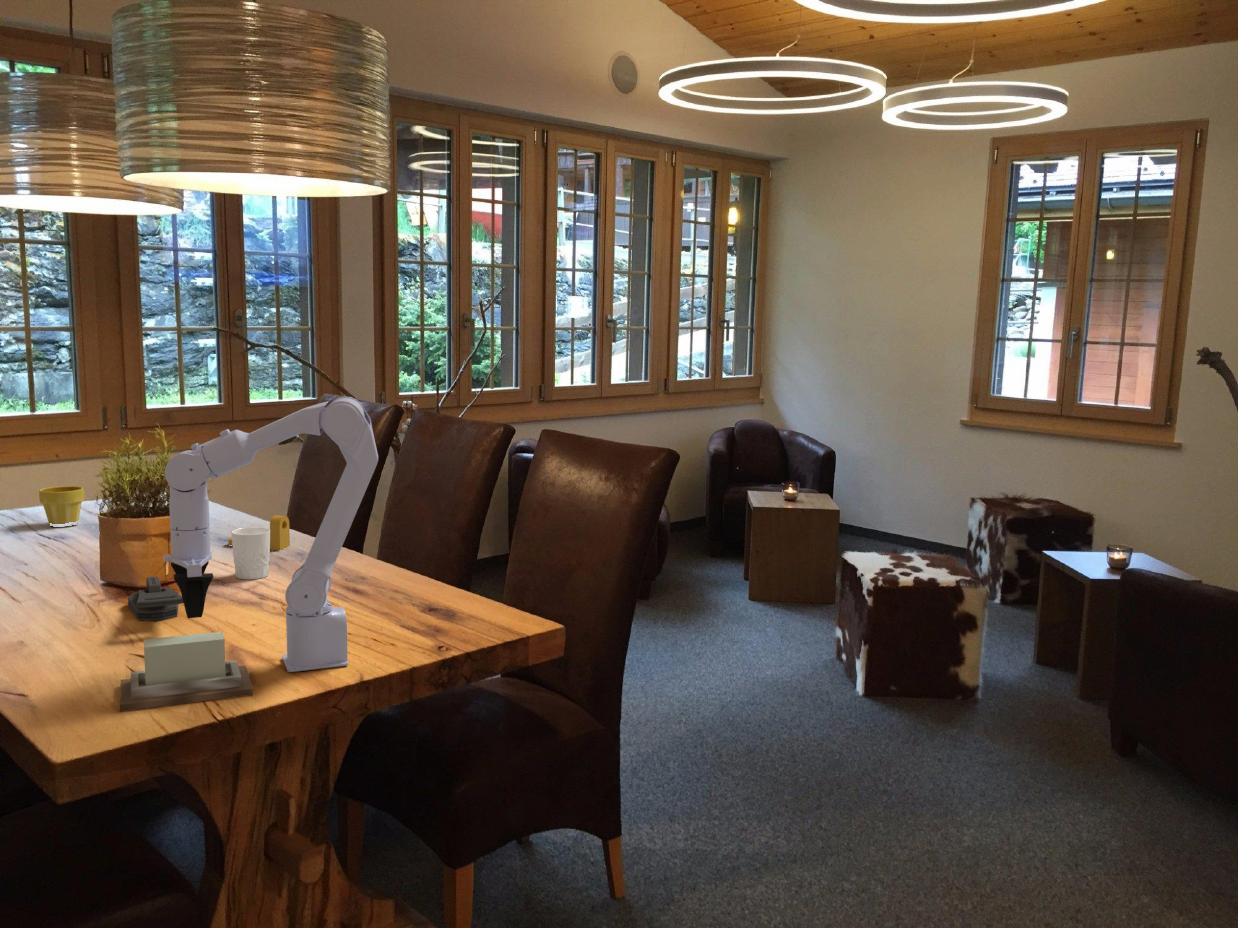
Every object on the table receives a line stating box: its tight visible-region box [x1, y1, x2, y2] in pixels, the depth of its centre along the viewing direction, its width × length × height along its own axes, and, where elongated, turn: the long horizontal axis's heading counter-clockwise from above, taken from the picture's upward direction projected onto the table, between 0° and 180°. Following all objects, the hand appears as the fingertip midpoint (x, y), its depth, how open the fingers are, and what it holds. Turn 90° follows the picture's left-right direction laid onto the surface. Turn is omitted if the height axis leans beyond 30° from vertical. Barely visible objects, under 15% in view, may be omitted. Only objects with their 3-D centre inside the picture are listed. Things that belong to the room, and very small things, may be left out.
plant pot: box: [38, 485, 85, 524], centre depth 268 cm, size 10×10×10 cm
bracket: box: [227, 515, 291, 551], centre depth 249 cm, size 15×4×8 cm, turn 77°
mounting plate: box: [119, 660, 254, 712], centre depth 154 cm, size 18×11×2 cm, turn 115°
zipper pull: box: [127, 576, 184, 622], centre depth 190 cm, size 9×7×25 cm
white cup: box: [231, 526, 271, 581], centre depth 222 cm, size 8×8×10 cm
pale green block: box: [143, 631, 226, 686], centre depth 154 cm, size 11×4×7 cm, turn 115°
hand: (192, 610), depth 163 cm, fingers open, 7 cm apart
